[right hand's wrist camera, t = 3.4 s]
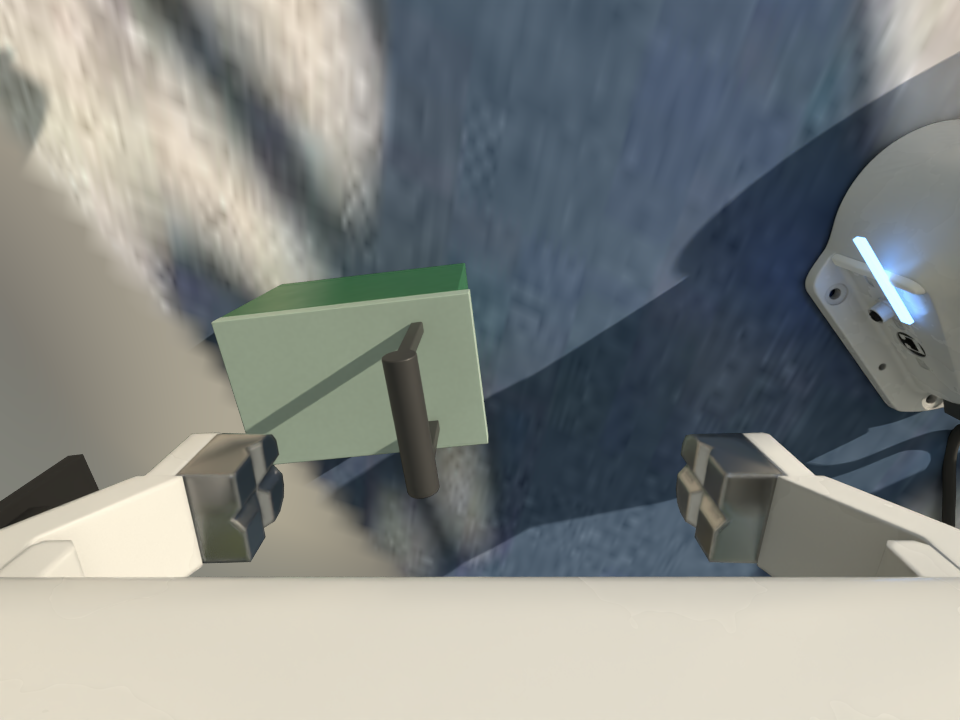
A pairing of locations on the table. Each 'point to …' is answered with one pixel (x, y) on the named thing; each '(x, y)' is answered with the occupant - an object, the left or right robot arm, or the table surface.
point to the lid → (361, 380)
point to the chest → (358, 289)
